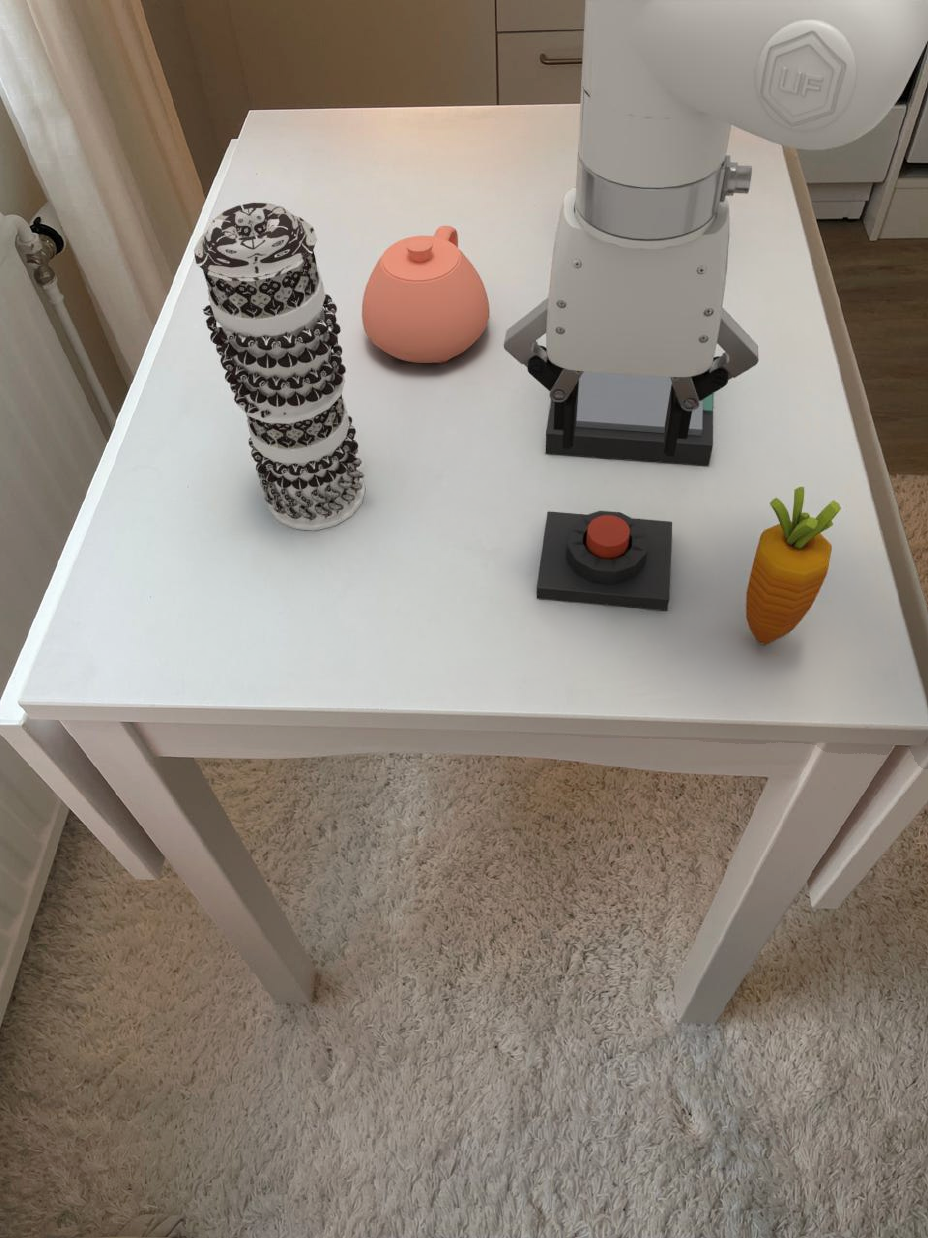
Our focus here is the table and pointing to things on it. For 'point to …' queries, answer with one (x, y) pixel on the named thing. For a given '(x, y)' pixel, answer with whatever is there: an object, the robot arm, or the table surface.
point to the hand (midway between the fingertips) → (619, 436)
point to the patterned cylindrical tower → (283, 361)
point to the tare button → (608, 537)
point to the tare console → (605, 564)
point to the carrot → (788, 569)
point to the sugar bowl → (425, 299)
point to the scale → (631, 421)
